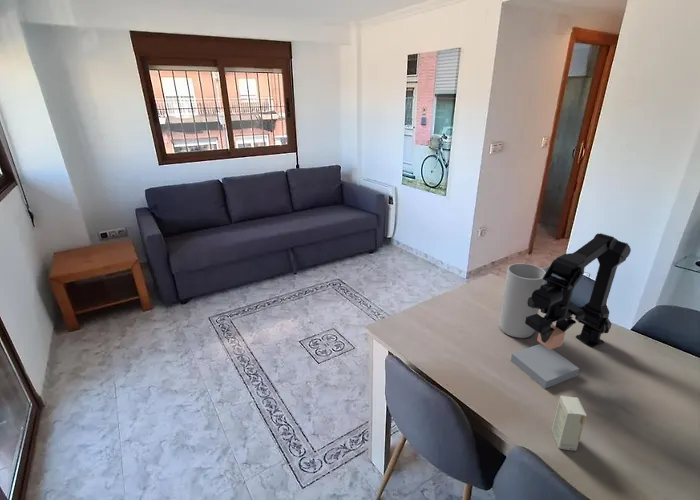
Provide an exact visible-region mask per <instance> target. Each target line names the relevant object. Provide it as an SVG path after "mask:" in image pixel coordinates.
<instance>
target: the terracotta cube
mask: <svg viewBox="0 0 700 500" xmlns="http://www.w3.org/2000/svg"><path fill="white" fill-rule="evenodd" d="M551 327H552V328H553V329H555V330H554V332H553V333H552V334H551V336H550V337H549V339H548V340H547V341H546V343H544V342H542V339H541V335H540V333H538V334H537V340H536V341H537V342H539V344H543V345H544V346H545V347H547V348H548V349H550V350H551V349H552V350H555V349H556V348H558V347H559V348H560V347H562V346H563V342H564V338H565V335H566V331H565V332H563V331H562V330H560V329H559V328H557V327H556V325H554V324H552V326H551Z"/></svg>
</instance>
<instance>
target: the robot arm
mask: <svg viewBox="0 0 700 500" xmlns="http://www.w3.org/2000/svg"><path fill="white" fill-rule="evenodd" d="M631 251H632V248H631V246H630V245H629V243H627V242H623V241H620V240H618V239H617V238H615V237H614V236H613V235H608V234H606V233H605V234H604V233H596V234H595V235H594V237H593V239H591V240H589V241H588V242H587V243H585V244H584V245H583V246H581V247H580V248H579V249H577V250H576V251H574V252H572V253H564V254H562V255H560V256H558V257H557V258H555V259H553V260H552V262H551V263H550V265H549V266H548V269H547V270H546V271H545V272H546V273H545V275H544V277H543V280H545V282H546V283H544V285H541V287H540V288H539V289H537V290H535V291H534V292H533V293H532V297H529V298H528V301H527V303H528V306H529V307H531V308H536V309H539V310H540V313H542V314H545V315H543V316H542V315H540V314H539V313H538V314H534V315H531V316H528V317H526V320H525V324H527V325H528V326H529V327H531V328H532V329H534V332H537V333H538V334H539V333H540V335H541V339H542V342H544V343H546V341H547V340H548V339H549V337H550V336H551V334H552V333H553V332H554V330H555V329H553V328H552V327H551V326H552V325H554V323H555V326H556V327H557V328H559V329H560V330H562V331H563V332H565V333H566V331H567V330H569V329H570V328H571V327H573V325H574V324H575V325H576V323H577V322H578V323H580V324H582V329H581V333H579V334H576V335H575V338H576V339H578V340H580V341H581V342H582V343H584V344H586V345H587V346H589V347H591V348H593V347H596V346H599V345H601V344H604V343H605V341H604V340H603V339H601V336H602V335H603V334H608V333H610V330H611V327H612V325H613V323H611V320H610V319H609V317H610V310H609V307H608V305H607V302H608V299H609V296H610V292H611V289H612V285H613V282H614V278H615V277H616V276H615V275H616V271H617V269H618V267H619V266H620V265H621V264H622V263H624V262H626V260H627V258H628V257H629V256H630V254H631ZM595 260H597V261H598V264H599V265H598V266H599V267H598V270H597V273H596V276H595V280H594V283H593V287H592V290H591V294H590V299H589V301H588V302H587V303H586V304H584V305H582V306H581V307H579V306H577V305H575V304H574V303H573V302H572V301H571V300H572V296H573V293H574V290H575V287H576V286H577V284H578V283H579V281H580V280H581V279H582V277H583V276H584V274H585V268H586V267H587V266H588V265H589V264H590V263H592V262H594V261H595ZM556 276H557V277H556ZM573 316H574V317H573ZM573 318H574V319H575V320H574V319H573Z"/></svg>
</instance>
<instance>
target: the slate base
mask: <svg viewBox="0 0 700 500" xmlns="http://www.w3.org/2000/svg"><path fill="white" fill-rule="evenodd" d="M510 357H511V358H510V362H512V364H514V365H515V366H516V367H518V368H519V369H520V370H521V371H522V372H524V374H526V375H527V376H529V377H530V378H531V379H532V380H533V381H535V383H537V384H538V385H539V386H541V388H543V389H547V388H551V387H553V386H555V385H559V384H561V383H563V382H565V381H567V380H570V379H573V378H576V377H578V374H579V372H580V368H579V366H577V365H575V364H573V363H572V362H571V361H570V360H568V359H567V358H565V357H563V356H562V355H561V354H559V352H557V351H555V349H551V350H550V349H548V348H547V347H545V346H544V345H543V344H541V343H538V344H535V345H532V346H530V347H527V348H524V349H522V350H518V351H515V352H512V353H511V356H510Z"/></svg>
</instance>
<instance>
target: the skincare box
mask: <svg viewBox="0 0 700 500" xmlns="http://www.w3.org/2000/svg"><path fill="white" fill-rule="evenodd" d="M558 399H559V400H558V403H557V408H556V412H555V416H554V418H553V419H554V420H553V423H552V427H551V431H552V435H553V437H554V441H555V442H556V446H557V448H558V449H561V450H565V451H566V450H568V451H577V450H578V446H579V443H580V442H579V441H580V439H581V436H582V432H583V429H584V427H585V422H586V418H587V413H586V411H585V409H584V407H583V404H582V402H581V401H580V399H579V397H576V396H574V397H573V396H569V395H563V394H562V395H559V398H558Z"/></svg>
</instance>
